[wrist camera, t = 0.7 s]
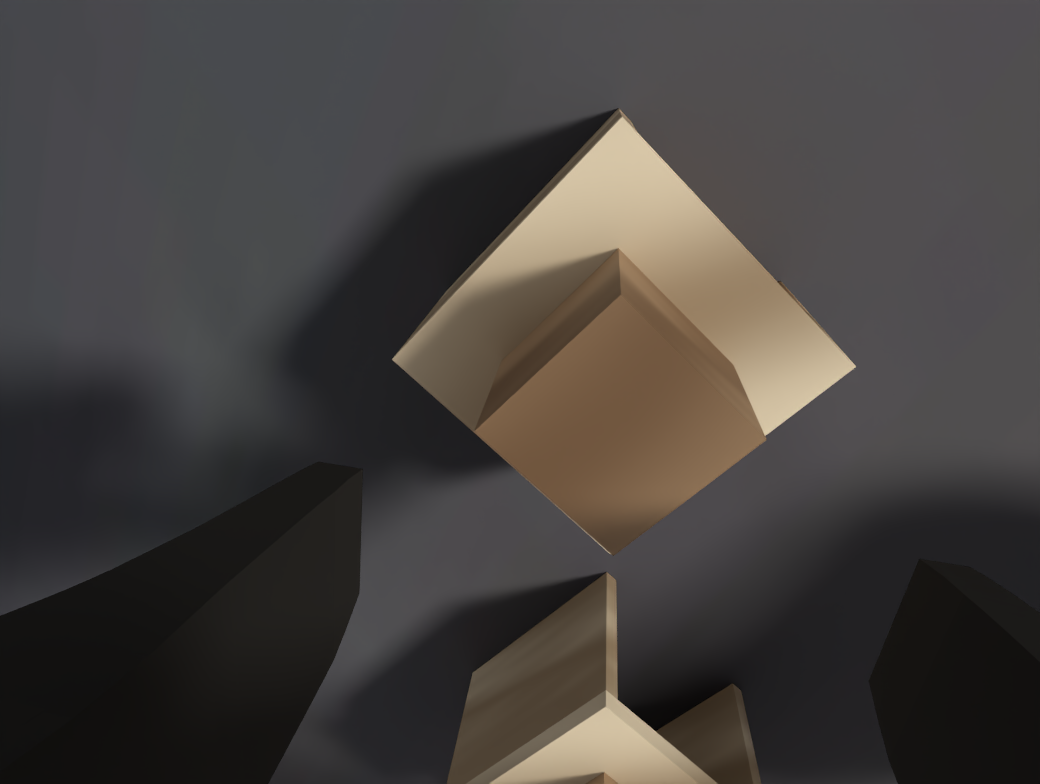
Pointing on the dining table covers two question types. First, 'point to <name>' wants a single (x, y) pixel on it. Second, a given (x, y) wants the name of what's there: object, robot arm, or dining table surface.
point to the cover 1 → (620, 342)
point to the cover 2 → (588, 714)
